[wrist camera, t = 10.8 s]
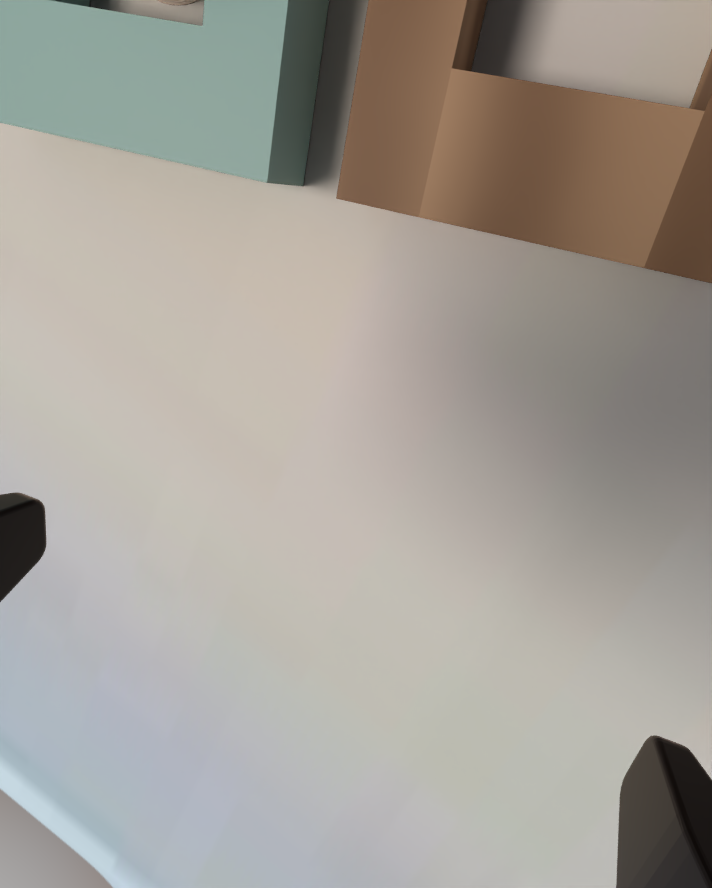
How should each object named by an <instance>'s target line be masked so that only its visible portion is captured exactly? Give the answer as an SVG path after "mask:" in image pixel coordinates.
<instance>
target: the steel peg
mask: <svg viewBox="0 0 712 888" xmlns="http://www.w3.org/2000/svg"><path fill="white" fill-rule="evenodd" d="M157 1H160V2H162V3H165V4H169V5H186V4H190V3H193V2H195V1H197V0H157Z"/></svg>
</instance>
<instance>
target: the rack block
mask: <svg viewBox="0 0 712 888" xmlns="http://www.w3.org/2000/svg"><path fill="white" fill-rule="evenodd" d="M328 5H329V0H204V13H203V26H199V25H193V24H187V23H181V22H175V21H169V20H163V19H158V18H152V17H146V16H140V15H134V14H128V13H122V12H116V11H110V10H104V9H98V8H93V7H90V0H0V123H4V124H9V125H13V126H18V127H22V128H27V129H31V130H35V131H40V132H44V133H49V134H53V135H58V136H62V137H66V138H71V139H75V140H80V141H84V142H89V143H93V144H97V145H102V146H106V147H111V148H115V149H120V150H124V151H128V152H133V153H137V154H142V155H146V156H151V157H155V158H159V159H164V160H168V161H173V162H177V163H182V164H186V165H190V166H195V167H199V168H204V169H208V170H213V171H217V172H221V173H226V174H230V175H235V176H239V177H244V178H248V179H252V180H257V181H261V182H266V183H275V184H286V185H297V186H303V183H304V176H305V169H306V162H307V155H308V148H309V140H310V133H311V126H312V119H313V112H314V105H315V98H316V91H317V84H318V76H319V69H320V62H321V55H322V48H323V41H324V34H325V27H326V19H327V12H328Z"/></svg>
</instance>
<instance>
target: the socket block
mask: <svg viewBox="0 0 712 888" xmlns="http://www.w3.org/2000/svg"><path fill="white" fill-rule="evenodd" d="M487 1H488V0H369V2H368V8H367V14H366V20H365V26H364V32H363V38H362V45H361V51H360V57H359V63H358V69H357V75H356V81H355V87H354V93H353V99H352V106H351V112H350V118H349V124H348V130H347V136H346V142H345V148H344V154H343V161H342V167H341V173H340V179H339V185H338V191H337V197H336V198H337V199H341V200H345V201H350V202H354V203H359V204H363V205H368V206H372V207H376V208H381V209H385V210H390V211H394V212H399V213H403V214H407V215H412V216H416V217H421V218H425V219H430V220H434V221H438V222H443V223H447V224H452V225H456V226H461V227H465V228H469V229H474V230H478V231H483V232H487V233H492V234H496V235H500V236H505V237H509V238H514V239H518V240H523V241H527V242H531V243H536V244H540V245H545V246H549V247H554V248H558V249H562V250H567V251H571V252H576V253H580V254H585V255H589V256H593V257H598V258H602V259H607V260H611V261H616V262H620V263H624V264H629V265H633V266H638V267H642V268H647V269H651V270H655V271H660V272H664V273H669V274H673V275H678V276H682V277H686V278H691V279H695V280H700V281H704V282H709V283H712V50H711V53H710V55H709V58H708V60H707V63H706V66H705V68H704V71H703V74H702V76H701V79H700V82H699V84H698V87H697V90H696V92H695V95H694V98H693V100H692V103H691V105H690V108H683V107H677V106H672V105H666V104H660V103H654V102H648V101H642V100H636V99H630V98H624V97H618V96H612V95H607V94H601V93H595V92H589V91H583V90H577V89H571V88H565V87H559V86H553V85H547V84H542V83H536V82H530V81H524V80H518V79H512V78H506V77H500V76H494V75H488V74H483V73H477V72H471V69H472V65H473V60H474V56H475V52H476V48H477V43H478V39H479V35H480V31H481V26H482V22H483V18H484V13H485V9H486V5H487Z"/></svg>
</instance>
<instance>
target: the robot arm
mask: <svg viewBox="0 0 712 888" xmlns="http://www.w3.org/2000/svg"><path fill="white" fill-rule="evenodd" d="M45 548H46V522H45V507H44V505H43V503H42V502H41V501H39V500H38V499H35V498H33V497H30V496H27V495H25V494H22V493H9V494H3V495H0V602H1V601H2V600H3V599H4V598H5V597H6V595H7V594H8V593H9V592H10V591H11V590H12V589H13V588H14V587H15V586H16V585H17V584H18V583H19V582H20V580H21V579H22V578H23V577H24V576H25V575H26V574H27V573H28V572H29V571H30V570H31V569H32V568H33V567H34V566H35V564H36V563H37V562H38V561H39V560H40V559H41V557H42V556H43V554H44V551H45ZM616 888H712V780H711V778H710V777H709V775H708V774H707V773H706V771H705V770H704V769H703V767H702V766H701V764H700V763H699V762H698V760H697V759H696V758H695V756H694V755H693V754H692V752H691V751H690V750H689V749H688V748H686V747H685V746H683V745H681V744H678V743H675V742H673V741H670V740H668V739H665V738H662V737H660V736H650V737H649V738H648V739H647V740H646V741H645V742H644V744H643V746H642V747H641V749H640V751H639V753H638V754H637V756H636V758H635V760H634V761H633V763H632V765H631V766H630V768H629V770H628V772H627V773H626V775H625V777H624V780H623V782H622V786H621V792H620V807H619V832H618V858H617V884H616Z"/></svg>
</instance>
